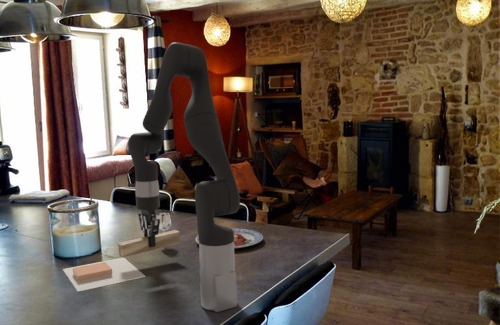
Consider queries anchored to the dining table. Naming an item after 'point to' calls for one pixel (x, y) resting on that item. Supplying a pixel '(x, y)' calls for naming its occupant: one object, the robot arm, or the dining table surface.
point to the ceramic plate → (243, 237)
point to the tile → (92, 271)
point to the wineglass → (164, 221)
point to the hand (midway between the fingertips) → (150, 245)
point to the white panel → (120, 273)
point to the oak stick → (142, 243)
